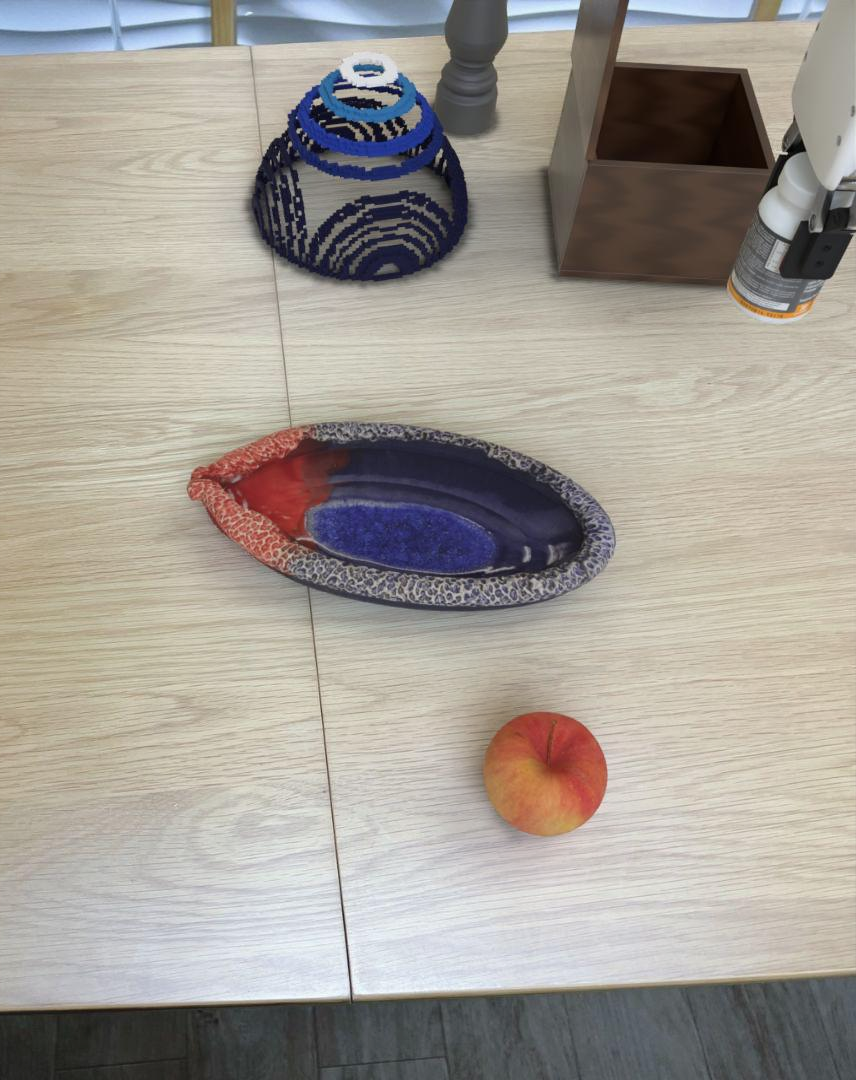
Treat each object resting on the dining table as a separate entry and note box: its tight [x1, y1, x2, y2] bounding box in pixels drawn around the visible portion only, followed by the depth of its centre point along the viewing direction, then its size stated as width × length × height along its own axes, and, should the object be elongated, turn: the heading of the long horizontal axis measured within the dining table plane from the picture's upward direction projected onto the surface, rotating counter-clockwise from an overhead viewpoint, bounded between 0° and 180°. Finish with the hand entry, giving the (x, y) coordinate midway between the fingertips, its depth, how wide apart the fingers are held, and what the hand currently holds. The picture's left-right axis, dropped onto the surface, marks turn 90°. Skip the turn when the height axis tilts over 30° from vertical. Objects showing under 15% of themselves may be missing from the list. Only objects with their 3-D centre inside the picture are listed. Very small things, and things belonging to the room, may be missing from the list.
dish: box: [186, 421, 617, 613], centre depth 79 cm, size 16×31×5 cm, turn 79°
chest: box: [547, 60, 777, 287], centre depth 98 cm, size 16×16×12 cm
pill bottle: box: [726, 152, 856, 325], centre depth 70 cm, size 6×6×10 cm
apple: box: [482, 711, 609, 837], centre depth 66 cm, size 7×7×8 cm
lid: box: [570, 0, 630, 160], centre depth 87 cm, size 16×16×1 cm
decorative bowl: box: [251, 51, 469, 283], centre depth 98 cm, size 20×20×14 cm
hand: (794, 240), depth 70 cm, fingers closed on pill bottle, 5 cm apart
